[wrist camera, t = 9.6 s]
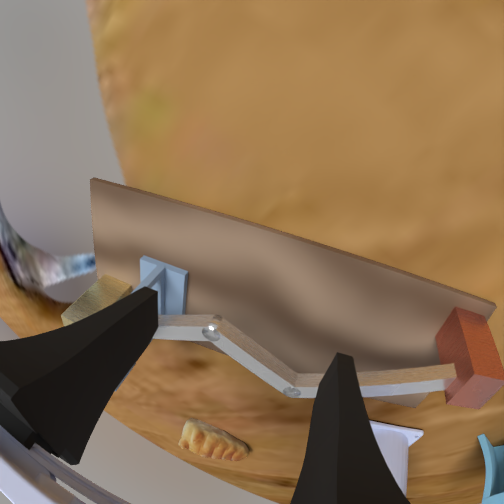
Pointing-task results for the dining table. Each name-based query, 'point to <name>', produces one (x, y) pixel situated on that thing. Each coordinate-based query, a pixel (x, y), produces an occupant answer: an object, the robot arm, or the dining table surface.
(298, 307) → the tan flat sheet
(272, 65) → the dining table surface
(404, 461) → the robot arm
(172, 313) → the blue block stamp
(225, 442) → the pastry
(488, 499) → the vase
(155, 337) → the jointed linkage mechanism
